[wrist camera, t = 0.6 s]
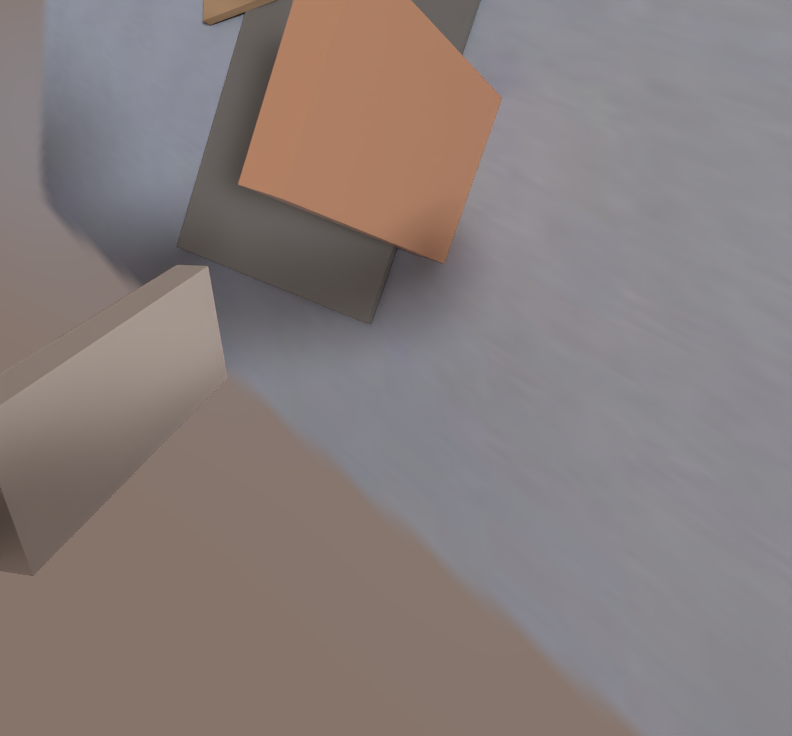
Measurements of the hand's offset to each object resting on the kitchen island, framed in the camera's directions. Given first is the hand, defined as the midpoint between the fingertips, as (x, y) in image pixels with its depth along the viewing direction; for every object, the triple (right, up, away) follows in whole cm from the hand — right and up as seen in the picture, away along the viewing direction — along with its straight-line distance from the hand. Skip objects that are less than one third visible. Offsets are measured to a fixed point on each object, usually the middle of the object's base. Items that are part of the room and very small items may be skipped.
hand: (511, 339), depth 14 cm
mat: (-7, +14, +28) cm, 32 cm away
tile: (+1, +10, +23) cm, 25 cm away
